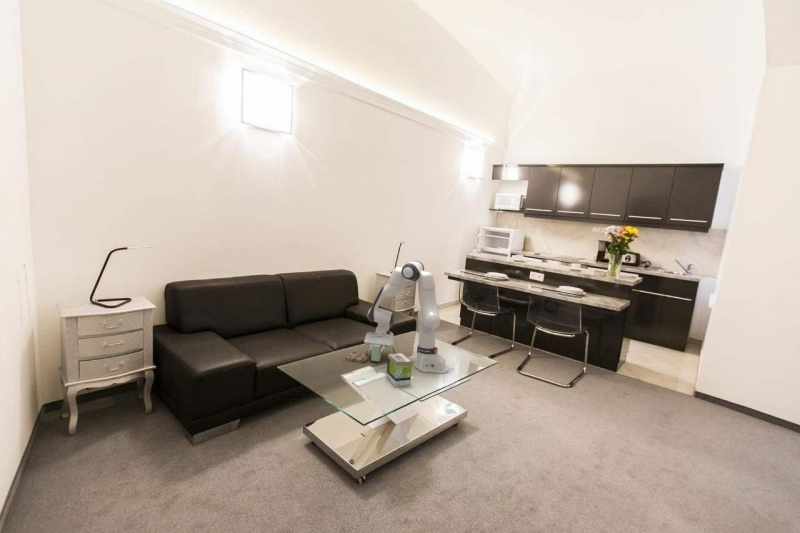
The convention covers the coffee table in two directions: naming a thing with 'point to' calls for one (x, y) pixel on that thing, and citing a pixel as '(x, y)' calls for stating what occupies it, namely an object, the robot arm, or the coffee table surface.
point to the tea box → (399, 369)
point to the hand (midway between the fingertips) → (376, 351)
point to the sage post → (376, 352)
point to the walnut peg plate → (358, 357)
